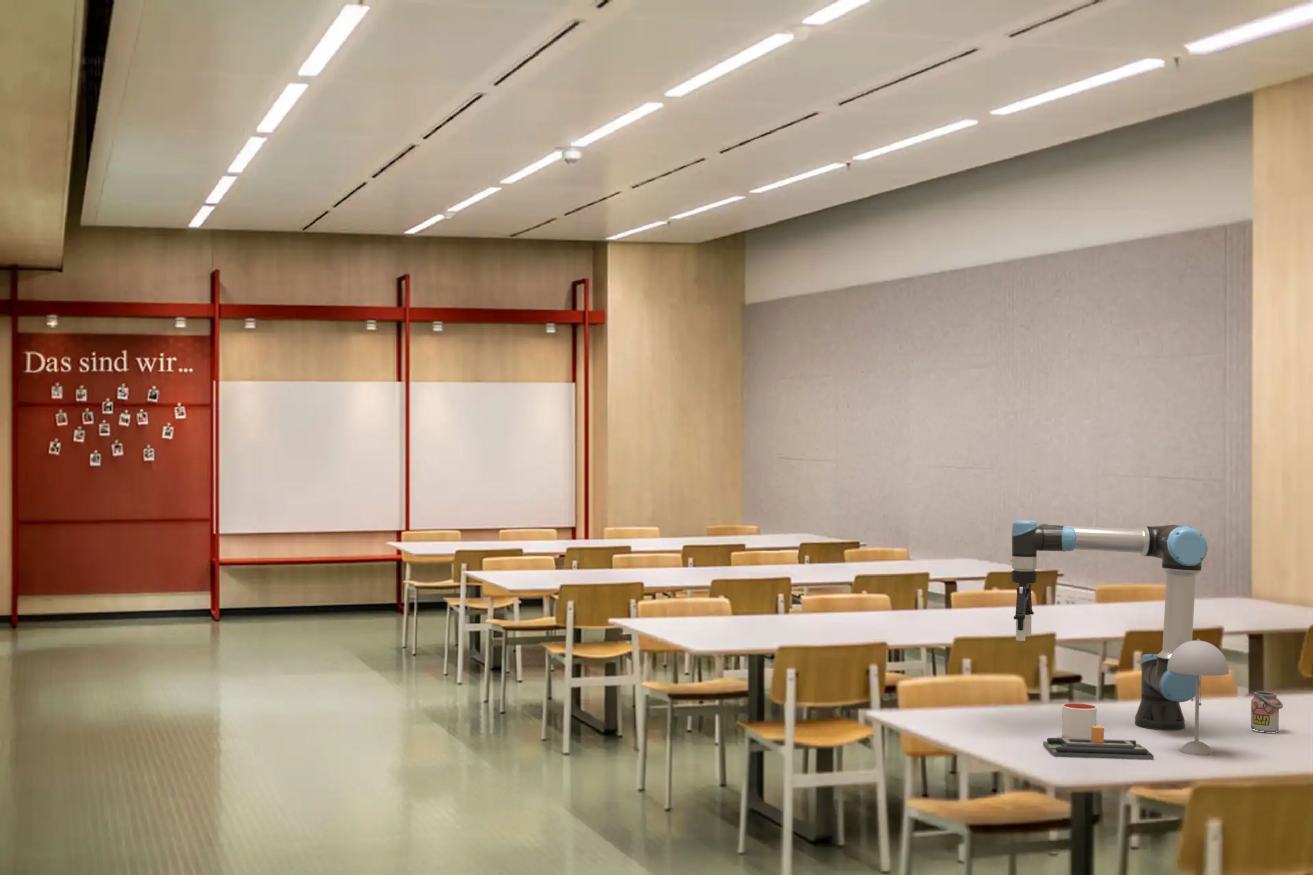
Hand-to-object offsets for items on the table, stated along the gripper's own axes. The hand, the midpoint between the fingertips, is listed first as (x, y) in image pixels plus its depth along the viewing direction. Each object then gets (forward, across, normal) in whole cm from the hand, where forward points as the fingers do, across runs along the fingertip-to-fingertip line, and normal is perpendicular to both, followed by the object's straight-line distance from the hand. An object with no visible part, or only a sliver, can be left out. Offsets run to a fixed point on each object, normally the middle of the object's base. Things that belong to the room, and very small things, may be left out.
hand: (1023, 638), depth 466 cm
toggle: (+28, +24, +24) cm, 44 cm away
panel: (+29, +24, +24) cm, 45 cm away
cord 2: (+28, +30, +26) cm, 48 cm away
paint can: (+30, -35, +71) cm, 84 cm away
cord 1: (+28, +17, +22) cm, 40 cm away
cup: (+29, +5, +17) cm, 34 cm away
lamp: (+30, +9, +51) cm, 60 cm away
